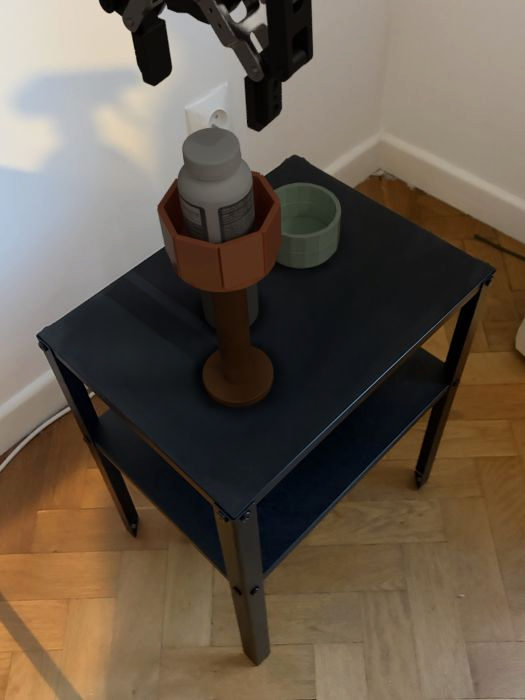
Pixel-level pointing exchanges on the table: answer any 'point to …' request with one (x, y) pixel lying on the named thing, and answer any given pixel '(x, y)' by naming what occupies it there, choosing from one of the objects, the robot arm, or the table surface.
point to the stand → (235, 355)
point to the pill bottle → (215, 187)
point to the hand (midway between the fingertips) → (209, 100)
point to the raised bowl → (223, 244)
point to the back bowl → (308, 225)
